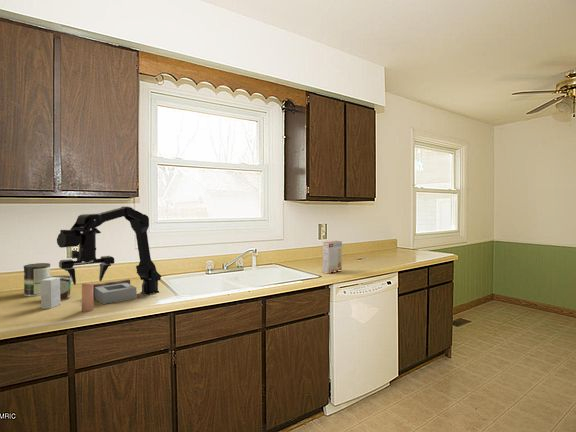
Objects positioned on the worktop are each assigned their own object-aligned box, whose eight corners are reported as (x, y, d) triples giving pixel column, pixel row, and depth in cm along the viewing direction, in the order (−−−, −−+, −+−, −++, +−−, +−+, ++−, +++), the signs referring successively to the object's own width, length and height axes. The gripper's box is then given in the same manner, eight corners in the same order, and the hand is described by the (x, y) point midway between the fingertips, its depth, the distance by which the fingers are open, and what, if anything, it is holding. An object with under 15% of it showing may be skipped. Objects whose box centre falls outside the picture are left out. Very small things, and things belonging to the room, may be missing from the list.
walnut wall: (128, 290, 164) (128, 279, 163) (130, 291, 162) (130, 279, 162) (88, 297, 151) (88, 284, 151) (89, 298, 149) (89, 285, 149)
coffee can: (20, 297, 150) (19, 267, 150) (28, 291, 160) (28, 263, 159) (46, 295, 154) (46, 266, 154) (53, 290, 163) (53, 262, 163)
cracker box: (335, 270, 226) (335, 240, 226) (342, 271, 222) (342, 241, 221) (321, 272, 217) (322, 241, 216) (328, 274, 212) (329, 242, 212)
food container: (79, 295, 154) (79, 275, 153) (70, 299, 147) (70, 277, 147) (52, 295, 153) (52, 274, 153) (43, 299, 147) (43, 277, 147)
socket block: (126, 292, 161) (126, 282, 161) (136, 298, 151) (136, 287, 151) (94, 297, 151) (94, 287, 151) (103, 304, 141) (103, 292, 141)
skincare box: (50, 304, 140) (50, 277, 139) (60, 304, 140) (60, 277, 140) (40, 308, 134) (40, 280, 133) (51, 308, 134) (50, 280, 134)
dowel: (91, 308, 135) (91, 282, 135) (94, 310, 133) (94, 283, 132) (80, 310, 133) (80, 283, 132) (83, 312, 130) (83, 285, 129)
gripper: (106, 241, 144) (106, 276, 145) (56, 245, 131) (56, 283, 131) (114, 244, 136) (114, 280, 137) (61, 247, 123) (62, 288, 124)
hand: (87, 282), depth 132 cm, fingers open, 9 cm apart
